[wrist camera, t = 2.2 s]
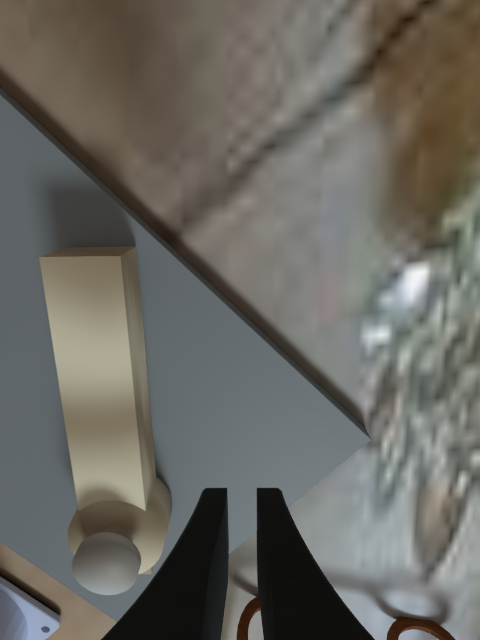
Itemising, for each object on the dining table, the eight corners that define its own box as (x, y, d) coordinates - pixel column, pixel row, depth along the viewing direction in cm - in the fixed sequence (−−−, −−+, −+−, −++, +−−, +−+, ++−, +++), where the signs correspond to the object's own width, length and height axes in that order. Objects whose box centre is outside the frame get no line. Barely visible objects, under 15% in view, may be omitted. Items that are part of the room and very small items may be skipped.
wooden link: (175, 537, 23) (160, 609, 19) (91, 537, 23) (60, 608, 19) (153, 246, 18) (128, 263, 14) (48, 247, 18) (-4, 265, 15)
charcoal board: (136, 615, 26) (132, 632, 25) (-278, 328, 21) (-303, 335, 20) (365, 428, 22) (370, 439, 21) (-80, 12, 17) (-99, 2, 16)
